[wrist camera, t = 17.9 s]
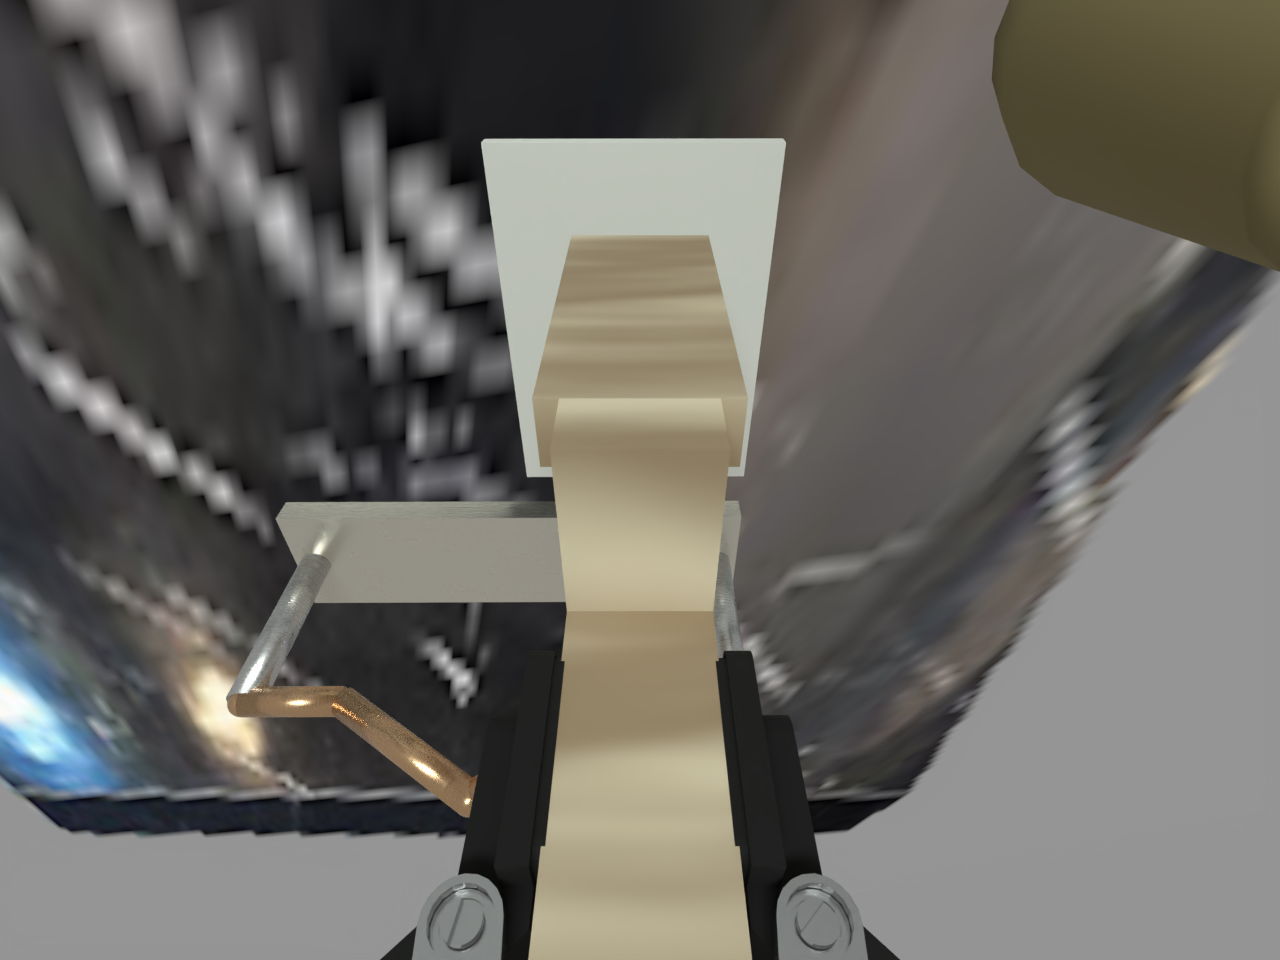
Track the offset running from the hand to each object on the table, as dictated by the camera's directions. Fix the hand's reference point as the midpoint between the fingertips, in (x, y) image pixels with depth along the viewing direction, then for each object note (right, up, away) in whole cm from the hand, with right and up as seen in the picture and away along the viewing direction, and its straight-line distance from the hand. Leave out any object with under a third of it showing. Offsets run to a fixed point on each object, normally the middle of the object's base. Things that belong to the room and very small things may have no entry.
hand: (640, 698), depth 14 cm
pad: (0, +10, +13) cm, 17 cm away
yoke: (0, +7, +9) cm, 12 cm away
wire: (-6, +1, +20) cm, 21 cm away
